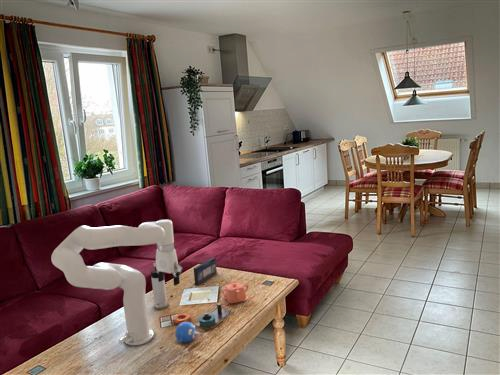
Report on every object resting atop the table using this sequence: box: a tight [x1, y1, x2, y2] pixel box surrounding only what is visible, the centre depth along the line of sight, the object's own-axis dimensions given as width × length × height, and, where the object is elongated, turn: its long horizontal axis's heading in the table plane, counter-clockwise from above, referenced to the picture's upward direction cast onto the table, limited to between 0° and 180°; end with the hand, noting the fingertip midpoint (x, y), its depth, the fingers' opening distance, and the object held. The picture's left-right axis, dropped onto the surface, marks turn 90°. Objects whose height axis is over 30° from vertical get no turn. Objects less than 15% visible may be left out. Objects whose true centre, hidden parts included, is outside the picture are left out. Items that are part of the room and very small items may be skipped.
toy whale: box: [174, 321, 203, 344], centre depth 179 cm, size 12×12×8 cm
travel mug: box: [150, 269, 168, 310], centre depth 213 cm, size 6×7×20 cm
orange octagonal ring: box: [173, 312, 191, 325], centre depth 198 cm, size 7×7×2 cm
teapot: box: [222, 282, 250, 304], centre depth 215 cm, size 12×12×10 cm
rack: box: [195, 302, 232, 329], centre depth 197 cm, size 18×8×6 cm, turn 149°
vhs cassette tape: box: [193, 257, 218, 286], centre depth 246 cm, size 18×3×10 cm, turn 147°
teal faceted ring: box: [198, 313, 217, 328], centre depth 193 cm, size 7×7×2 cm
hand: (168, 282), depth 194 cm, fingers open, 9 cm apart
